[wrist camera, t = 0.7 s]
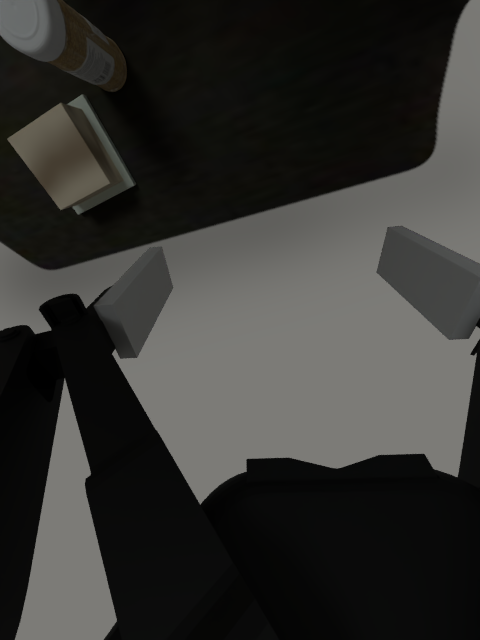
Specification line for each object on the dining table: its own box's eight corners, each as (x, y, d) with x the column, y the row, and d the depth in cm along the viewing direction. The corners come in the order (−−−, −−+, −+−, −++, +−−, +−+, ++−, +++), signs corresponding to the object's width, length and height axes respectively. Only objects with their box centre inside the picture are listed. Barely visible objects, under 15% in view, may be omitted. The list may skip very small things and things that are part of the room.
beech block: (32, 140, 31) (7, 139, 27) (81, 109, 29) (60, 102, 26) (78, 204, 35) (60, 209, 32) (123, 180, 33) (110, 183, 30)
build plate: (25, 136, 31) (20, 135, 30) (86, 95, 29) (82, 94, 28) (81, 213, 36) (77, 214, 36) (136, 184, 34) (134, 185, 33)
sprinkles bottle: (112, 28, 26) (11, -70, 15) (136, 83, 28) (64, 36, 17) (77, 48, 27) (-44, -30, 16) (103, 100, 29) (13, 65, 18)
